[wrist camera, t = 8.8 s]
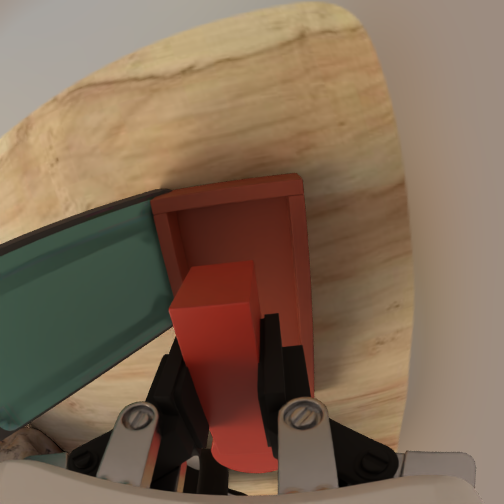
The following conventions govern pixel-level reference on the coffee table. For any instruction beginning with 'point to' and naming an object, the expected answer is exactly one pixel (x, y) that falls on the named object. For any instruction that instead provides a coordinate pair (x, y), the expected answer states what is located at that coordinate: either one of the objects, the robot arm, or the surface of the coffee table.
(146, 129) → the coffee table surface
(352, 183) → the coffee table surface
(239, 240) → the red tray
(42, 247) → the smartphone
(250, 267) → the red spoon
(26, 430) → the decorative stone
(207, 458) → the mug
